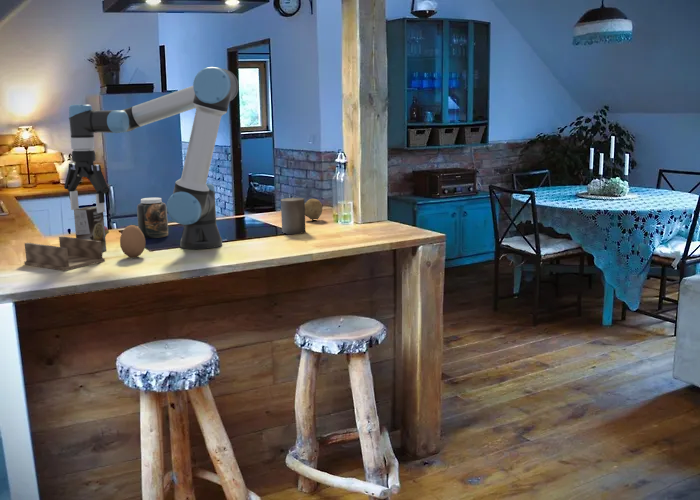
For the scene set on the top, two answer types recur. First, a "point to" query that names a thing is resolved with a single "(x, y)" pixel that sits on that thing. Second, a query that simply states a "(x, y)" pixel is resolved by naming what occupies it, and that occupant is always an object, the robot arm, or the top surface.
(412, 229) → the top surface
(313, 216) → the natural sponge
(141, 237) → the egg
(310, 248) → the top surface
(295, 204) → the pillar candle
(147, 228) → the jar
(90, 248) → the walnut rack
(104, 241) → the coffee box
